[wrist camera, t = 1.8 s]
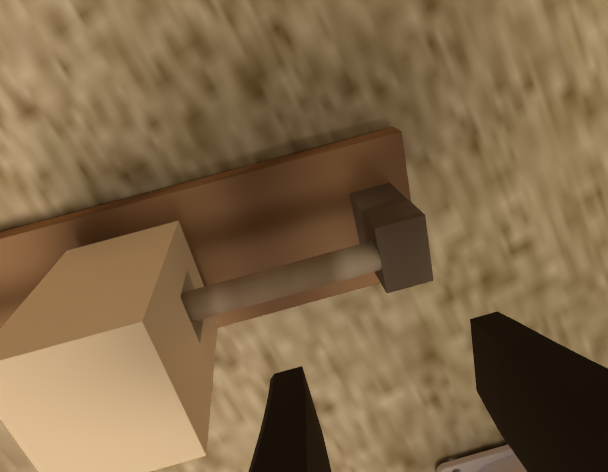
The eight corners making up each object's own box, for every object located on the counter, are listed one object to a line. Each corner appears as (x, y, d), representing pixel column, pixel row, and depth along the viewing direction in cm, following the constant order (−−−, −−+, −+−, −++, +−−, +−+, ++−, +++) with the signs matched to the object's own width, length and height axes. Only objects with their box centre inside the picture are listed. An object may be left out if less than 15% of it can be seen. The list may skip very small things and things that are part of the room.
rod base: (392, 127, 17) (457, 162, 12) (412, 261, 19) (473, 337, 14) (-216, 289, 16) (-422, 399, 11) (-115, 406, 19) (-247, 539, 14)
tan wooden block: (178, 220, 15) (142, 321, 10) (217, 321, 17) (206, 455, 12) (66, 250, 15) (-36, 370, 10) (118, 348, 17) (57, 497, 11)
